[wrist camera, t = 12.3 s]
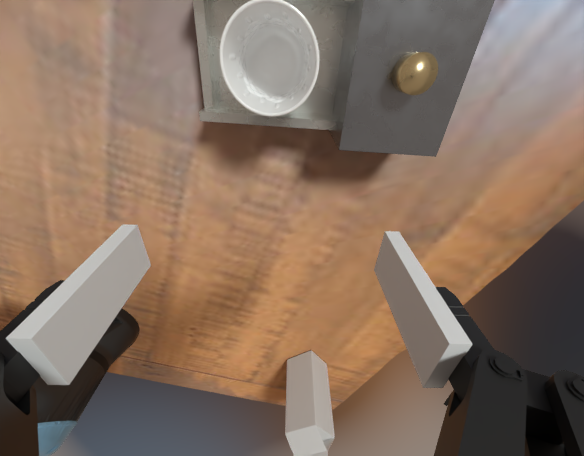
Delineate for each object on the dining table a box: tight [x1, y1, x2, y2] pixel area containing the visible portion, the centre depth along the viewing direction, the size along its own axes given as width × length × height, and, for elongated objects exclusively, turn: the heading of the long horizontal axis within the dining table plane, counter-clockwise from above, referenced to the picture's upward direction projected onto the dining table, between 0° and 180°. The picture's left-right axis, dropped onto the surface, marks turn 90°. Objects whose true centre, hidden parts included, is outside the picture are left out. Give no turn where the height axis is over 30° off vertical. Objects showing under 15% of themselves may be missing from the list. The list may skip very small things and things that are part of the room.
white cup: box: [220, 0, 319, 116], centre depth 25 cm, size 8×8×10 cm
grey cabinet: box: [193, 0, 494, 157], centre depth 25 cm, size 26×14×11 cm, turn 86°
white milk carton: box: [285, 351, 335, 456], centre depth 55 cm, size 7×7×19 cm
